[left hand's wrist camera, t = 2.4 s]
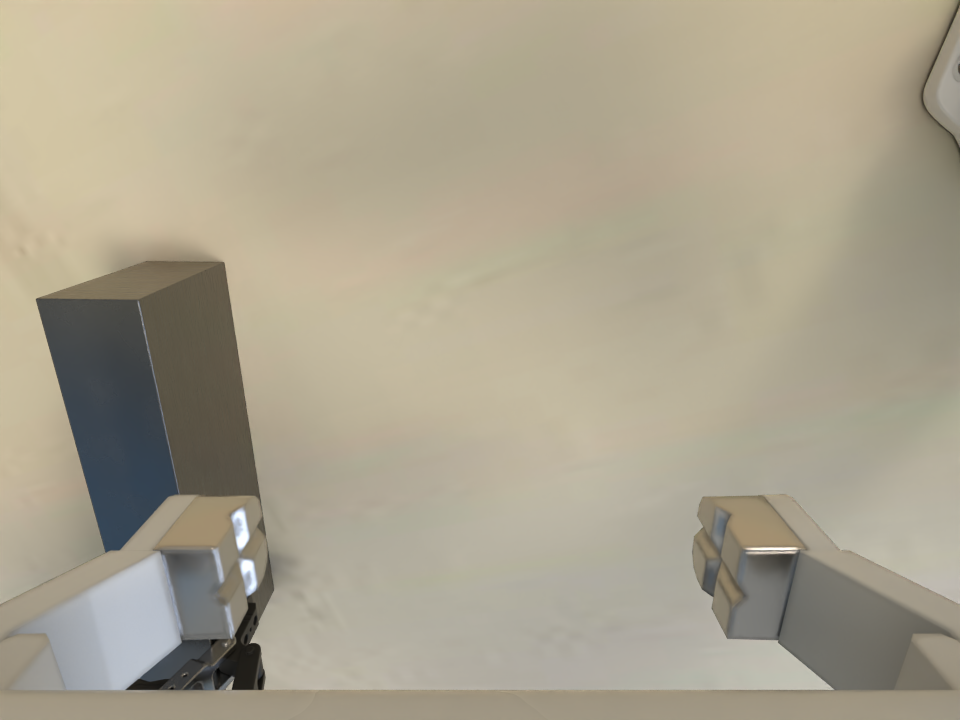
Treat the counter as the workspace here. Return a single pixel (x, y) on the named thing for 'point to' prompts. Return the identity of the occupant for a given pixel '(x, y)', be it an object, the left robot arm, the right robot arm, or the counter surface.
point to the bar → (154, 399)
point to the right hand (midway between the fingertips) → (208, 604)
